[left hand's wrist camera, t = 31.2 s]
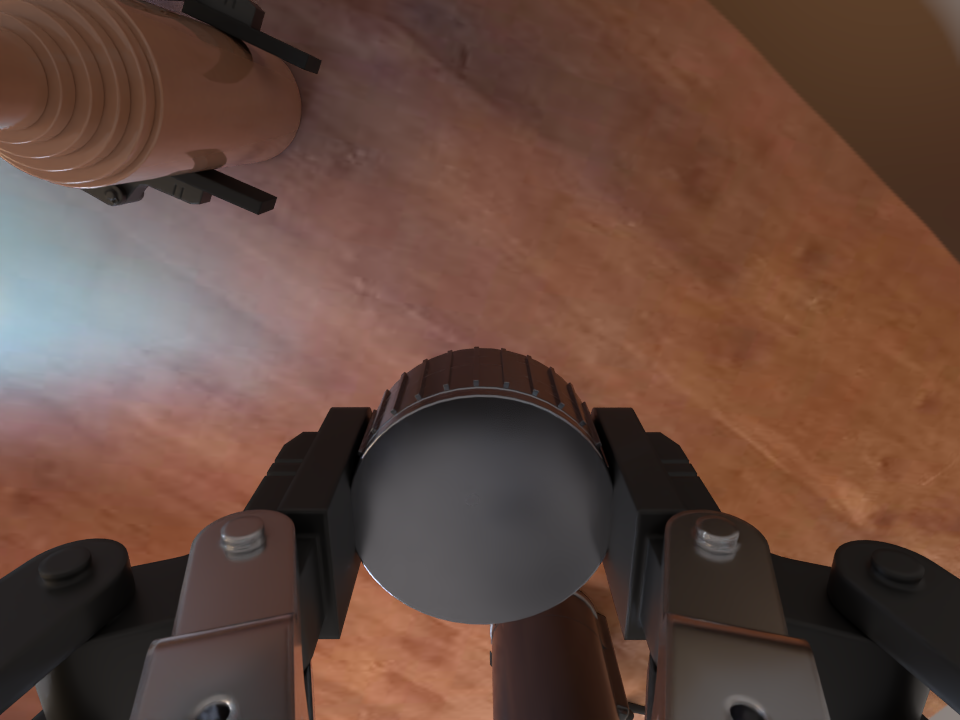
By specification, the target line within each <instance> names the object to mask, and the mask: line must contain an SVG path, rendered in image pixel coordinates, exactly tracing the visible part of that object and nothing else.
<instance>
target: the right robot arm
mask: <svg viewBox="0 0 960 720" xmlns="http://www.w3.org/2000/svg"><path fill="white" fill-rule="evenodd" d="M170 1H184V5H183V9H182V12H183V13H186V14H188V15H190V16H192V17H194V18H196V19H198V20H200V21H203V22H205V23H207V24H209V25H211V26H213V27H215V28H217V29H219V30H222V31H224V32H226V33H228V34H230V35H232V36H234V37H236V38H238V39H241V40H243V41H245V42H247V43H249V44H251V45H253V46H255V47H258V48H260V49H262V50H264V51H266V52H268V53H270V54H272V55H274V56H277V57H279V58H281V59H283V60H285V61H287V62H289V63H291V64H293V65H296V66H298V67H300V68H302V69H304V70H307V71H310V72H313V73H316V74H317V73H318V70H319V67H320V64H321V61H322V60H319V59H317V58H315V57H313V56H311V55H309V54H307V53H305V52H303V51H301V50H299V49H296V48H294V47H292V46H290V45H288V44H286V43H284V42H282V41H280V40H278V39H275V38H273V37H271V36H269V35H267V34H265V33H263V32H261V31H260V28H261V24H262V21H263V17H264V14H265V12H264V11H263V10H262V9H261V8H260V7H259V6H258V5H257V4H255V3H253V2H252V1H250V0H170ZM148 186H150V187H152V188H155V189H157V190H159V191H162V192H164V193H166V194H169V195H171V196H174V197H176V198H178V199H181V200H183V201H185V202H187V203H190V204H203V203H206V202H210V199H211V196H212V195H214V196H216V197H218V198H221V199H223V200H225V201H228V202H230V203H232V204H234V205H237V206H239V207H241V208H244V209H246V210H248V211H251V212H253V213H255V214H258V215H259V214H262V213H264V212H267V211H270V210H272V209H274V205H275V202H276V199H277V197H275V196H273V195H271V194H268V193H266V192H264V191H262V190H259V189H257V188H255V187H252V186H250V185H248V184H246V183H243V182H241V181H239V180H237V179H234V178H232V177H230V176H228V175H225V174H223V173H221V172H218V171H216V170H214V169H212V170H206V171H199V172H193V173H187V174H181V175H174V176H168V177H162V178H156V179H149V180H143V181H137V182H130V183H124V184H118V185H112V186H105V187H99V188H88V189H82V190H83V191H85V192H87V193H89V194H90V195H92V196H94V197H96V198H97V199H99V200H101V201H103V202H104V203H106V204H108V205H111V206H117V205H122V204H127V203H131V202H136V201H139V200H141V199H142V198H143V196H144V191H145V189H146V188H147V187H148Z"/></svg>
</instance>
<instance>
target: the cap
mask: <svg viewBox="0 0 960 720" xmlns="http://www.w3.org/2000/svg"><path fill="white" fill-rule="evenodd" d="M601 446H602V443H601V440H600V438H599V435H598V433H597V430H596V427H595V425H594V422H593V420H592V417H591V415H590V412H589V409H588V407H587V404H586V403H585V402H583V403H582V402H581V400H580V398H579V397H578V396H577V394H576V393H575V390H574V388H573V385H572V384H571V383H569V384H568V383H567V382H566V381H565V380H564V379H563V378H562V377H560V376H559V375H558V374H556V373H555V371H554V368H552V367H550V368H548V367H547V366H545V365H543V364H541V363H540V362H538V361H536V360H534V359H532V358H531V356H529V355H527V356H524V355H521V354H517V353H514V352H510V351H506V349H503V348H501V350H499V349H489V348H479V347H474V349H463V350H458V351H452V350H450V351H448V353H445V354H442V355H440V356H437V357H434V358H431V359H429V360H428V359H425V360H423V363H422V364H420V365H418V366H416V367H415V368H414V369H412V370H411V371H409V372H408V373H405V372H404V373H403V374H402V375H401V378H400V380H399V381H397V382H396V383H395V384H394V386H393V387H392V388H391V389H390V390H386V391H385V392H384V395H383V398H382V401H381V404H380V405H379V407H378V409H377V410H373V413H372V415H371V418H370V420H369V423H368V426H367V428H366V431H365V434H364V436H363V439H362V442H361V444H360V447H359V449H358V452H357V455H359V456H360V457H359V459H358V462H357V465H356V468H355V470H354V473H353V476H352V479H351V483H350V492H351V504H352V516H353V527H354V539H355V549H356V552H357V554H358V556H359V558H360V559H361V561H362V563H363V565H364V566H365V568H366V569H367V570H368V572H369V573H370V574H371V576H372V577H373V578H374V579H375V580H376V581H377V582H378V583H379V584H380V585H381V586H382V587H383V588H384V589H385V590H386V591H387V592H389V593H390V594H391V595H392V596H394V597H395V598H396V599H398V600H400V601H401V602H403V603H404V604H406V605H407V606H409V607H411V608H413V609H416V610H418V611H420V612H422V613H424V614H427V615H430V616H433V617H436V618H439V619H443V620H447V621H452V622H458V623H465V624H498V623H506V622H511V621H517V620H521V619H524V618H527V617H531V616H534V615H536V614H539V613H541V612H544V611H546V610H548V609H550V608H552V607H554V606H556V605H557V604H559V603H561V602H563V601H564V600H565V599H567V598H568V597H570V596H571V595H572V594H574V593H575V592H576V591H577V590H578V589H579V588H581V587H582V586H583V585H584V584H585V583H586V582H587V581H588V580H589V578H590V577H591V576H592V575H593V574H594V572H595V571H596V570H597V568H598V567H599V565H600V564H601V562H602V560H603V559H604V557H605V555H606V553H607V551H608V545H609V534H610V522H611V511H612V499H613V480H612V478H611V475H610V472H609V466H608V463H607V460H606V458H605V455H604V453H603V450H602V447H601Z"/></svg>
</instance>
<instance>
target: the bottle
mask: <svg viewBox="0 0 960 720" xmlns="http://www.w3.org/2000/svg"><path fill="white" fill-rule="evenodd" d="M300 119H301V98H300V93H299V89H298V86H297V83H296V81H295V79H294V77H293V75H292V73H291V71H290V70H289V68H288V67H287V65H286V64H285V63H284V62H283V60H282V59H281V58H279V57H277V56H274V55H272V54H270V53H268V52H266V51H264V50H262V49H260V48H258V47H255V46H253V45H251V44H249V43H247V42H245V41H243V40H241V39H238V38H236V37H234V36H232V35H230V34H228V33H226V32H224V31H222V30H219V29H217V28H215V27H213V26H211V25H209V24H206V23H203V22H200V21H198V20H195V19H192V18H189V17H187V16H184V15H181V14H178V13H176V12H173V11H170V10H167V9H165V8H162V7H159V6H156V5H154V4H151V3H148V2H145V1H143V0H0V157H2V158H3V159H4V160H5V161H7V162H8V163H10V164H11V165H13V166H15V167H16V168H18V169H20V170H22V171H24V172H26V173H28V174H30V175H32V176H35V177H37V178H40V179H43V180H46V181H49V182H51V183H54V184H57V185H61V186H66V187H71V188H80V189H88V188H99V187H105V186H112V185H118V184H124V183H130V182H137V181H143V180H149V179H156V178H162V177H168V176H174V175H181V174H187V173H193V172H199V171H206V170H212V169H218V168H225V167H231V166H237V165H243V164H250V163H256V162H262V161H266V160H269V159H271V158H273V157H275V156H277V155H278V154H280V153H281V152H283V151H284V150H285V149H286V148H287V147H288V146H289V144H290V143H291V142H292V140H293V138H294V137H295V135H296V133H297V130H298V127H299V124H300Z"/></svg>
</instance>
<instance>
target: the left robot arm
mask: <svg viewBox="0 0 960 720" xmlns="http://www.w3.org/2000/svg"><path fill="white" fill-rule="evenodd" d="M371 415H372V411H371V408H370V407H332V408H331V409H330V410H329V412H328V414H327V416H326V418H325V420H324V422H323V423H322V425H321V427H320V429H319V431H318V432H302V433H301V434H299V435H298V436H296V437H295V438H294V439H292V440H291V441H289V442H288V443H286V444H285V445H284V446H283V448H282V449H281V451H280V452H279V454H278V456H277V457H276V459H275V463H273V464H272V465H271V467H270V469H269V470H268V472H267V476H265V477H264V478H263V480H262V482H261V483H260V485H259V486H258V488H257V490H256V491H255V493H254V494H253V496H252V498H251V499H250V501H249V503H248V504H247V506H246V507H245V509H244V511H242V512H237V513H234V514H231V515H228V516H225V517H223V518H220V519H218V520H216V521H214V522H213V523H211V524H210V525H208V526H207V527H205V528H204V529H203V530H202V531H201V532H200V533H199V534H198V535H197V536H196V537H195V539H194V540H193V543H192V545H191V549H190V554H188V555H185V556H181V557H177V558H173V559H168V560H163V561H158V562H153V563H148V564H143V565H138V566H133V567H131V565H130V560H129V556H128V552H127V550H126V548H125V547H124V546H123V545H122V544H121V543H119V542H117V541H114V540H109V539H85V540H79V541H75V542H71V543H67V544H64V545H61V546H57V547H55V548H52V549H50V550H48V551H45V552H43V553H41V554H39V555H37V556H36V557H34V558H32V559H31V560H29V561H27V562H26V563H24V564H23V565H21V566H20V567H18V568H17V569H15V570H14V571H12V572H11V573H9V574H7V575H6V576H4V577H3V578H1V579H0V715H1V714H2V713H3V712H4V711H5V710H6V709H8V708H9V707H10V706H11V705H12V704H13V703H15V702H16V701H17V700H18V699H19V698H21V697H22V696H23V695H24V694H25V693H26V692H28V691H29V690H30V689H31V688H32V687H33V686H35V687H36V690H37V693H38V696H39V699H40V702H41V705H42V708H43V710H42V711H41V712H40V713H38V714H37V715H36V716H35V717H34V718H33V719H32V720H315V704H314V685H313V671H312V663H311V659H312V656H313V654H314V650H315V647H316V644H317V641H318V639H340V636H341V632H342V629H343V625H344V621H345V618H346V614H347V610H348V607H349V603H350V599H351V596H352V592H353V588H354V585H355V581H356V577H357V574H358V570H359V566H360V563H361V559H360V558H359V556H358V554H357V552H356V549H355V539H354V527H353V516H352V504H351V492H350V483H351V479H352V476H353V473H354V470H355V468H356V465H357V462H358V459H359V457H360V456H359V455H357V452H358V449H359V447H360V444H361V442H362V439H363V436H364V434H365V431H366V428H367V426H368V423H369V420H370V418H371ZM591 417H592V420H593V422H594V425H595V427H596V430H597V433H598V435H599V438H600V440H601V443H602V446H601V447H602V450H603V453H604V455H605V458H606V460H607V463H608V466H609V472H610V475H611V478H612V480H613V499H612V511H611V522H610V534H609V545H608V551H607V553H606V555H605V557H604V559H603V560H602V562H603V565H604V569H605V572H606V576H607V579H608V583H609V586H610V590H611V594H612V597H613V601H614V604H615V608H616V611H617V615H618V618H619V622H620V625H621V629H622V633H623V636H624V640H647V643H648V646H649V650H650V655H649V663H648V671H647V685H646V704H645V707H644V706H640V705H636V704H633V703H629V702H627V698H626V694H625V691H624V687H623V683H622V679H621V675H620V671H619V667H618V663H617V660H616V656H615V652H614V648H613V644H612V640H611V636H610V632H609V628H608V625H607V621H606V617H605V616H603V615H600V614H598V613H597V612H596V610H595V608H594V606H593V604H592V603H591V601H590V600H589V599H588V598H587V597H586V596H585V595H584V594H583V593H582V592H580V591H579V590H577V591H576V592H575V593H574V594H572V595H571V596H570V597H568V598H567V599H565V600H564V601H563V602H561V603H559V604H557V605H556V606H554V607H552V608H550V609H548V610H546V611H544V612H541V613H539V614H536V615H534V616H531V617H527V618H524V619H521V620H517V621H511V622H506V623H498V624H490V635H491V644H492V653H491V651H490V665H491V666H492V681H493V720H633V718H634V714H633V713H638V714H643V715H645V720H928V719H927V718H926V717H925V716H924V715H923V714H922V712H923V709H924V706H925V703H926V700H927V697H928V694H929V691H930V690H931V691H932V692H934V693H935V694H936V695H937V696H938V697H940V698H941V699H942V700H943V701H944V702H945V703H947V704H948V705H949V706H950V707H951V708H952V709H954V710H955V711H956V712H957V713H958V714H959V715H960V579H959V578H957V577H956V576H954V575H953V574H951V573H950V572H948V571H946V570H945V569H943V568H942V567H940V566H939V565H937V564H936V563H934V562H933V561H931V560H929V559H928V558H926V557H924V556H922V555H920V554H918V553H916V552H913V551H911V550H908V549H906V548H903V547H900V546H897V545H893V544H889V543H885V542H879V541H871V540H857V541H851V542H847V543H844V544H843V545H841V546H839V548H838V549H837V550H836V552H835V555H834V559H833V563H832V567H828V566H823V565H818V564H813V563H808V562H803V561H798V560H793V559H789V558H785V557H781V556H778V555H775V554H772V553H770V549H769V545H768V543H767V540H766V539H765V537H764V536H763V535H762V534H761V533H760V532H759V531H758V530H757V529H756V528H755V527H753V526H752V525H750V524H749V523H747V522H746V521H744V520H742V519H740V518H737V517H735V516H732V515H729V514H726V513H723V512H721V511H720V509H719V508H718V506H717V504H716V503H715V501H714V500H713V498H712V496H711V495H710V493H709V492H708V490H707V488H706V487H705V485H704V484H703V482H702V481H701V479H700V477H699V476H697V473H696V471H695V469H694V468H693V466H692V465H691V464H689V460H688V458H687V457H686V455H685V453H684V452H683V450H682V449H681V447H680V446H679V445H678V444H677V443H675V442H674V441H672V440H671V439H669V438H668V437H666V436H665V435H663V434H662V433H661V432H645V430H644V428H643V427H642V425H641V423H640V421H639V419H638V417H637V416H636V414H635V412H634V410H633V409H632V408H593V409H592V412H591Z"/></svg>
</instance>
